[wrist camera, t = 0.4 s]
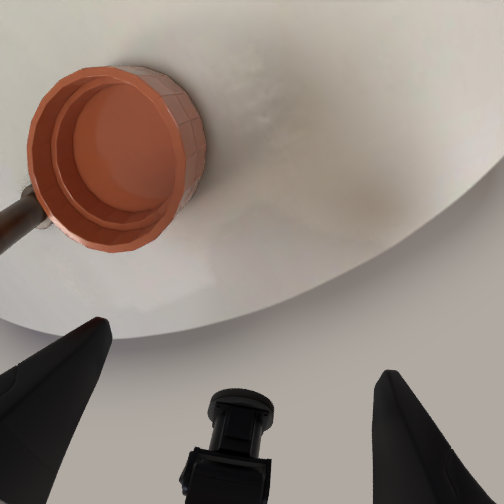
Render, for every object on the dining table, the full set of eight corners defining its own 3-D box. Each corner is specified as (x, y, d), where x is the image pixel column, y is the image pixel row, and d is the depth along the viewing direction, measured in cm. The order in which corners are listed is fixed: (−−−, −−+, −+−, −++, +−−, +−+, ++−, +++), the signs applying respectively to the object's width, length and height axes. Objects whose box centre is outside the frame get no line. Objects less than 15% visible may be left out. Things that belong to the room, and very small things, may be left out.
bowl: (200, 233, 25) (180, 268, 20) (71, 210, 25) (37, 236, 21) (217, 69, 19) (195, 66, 14) (68, 71, 19) (26, 75, 15)
